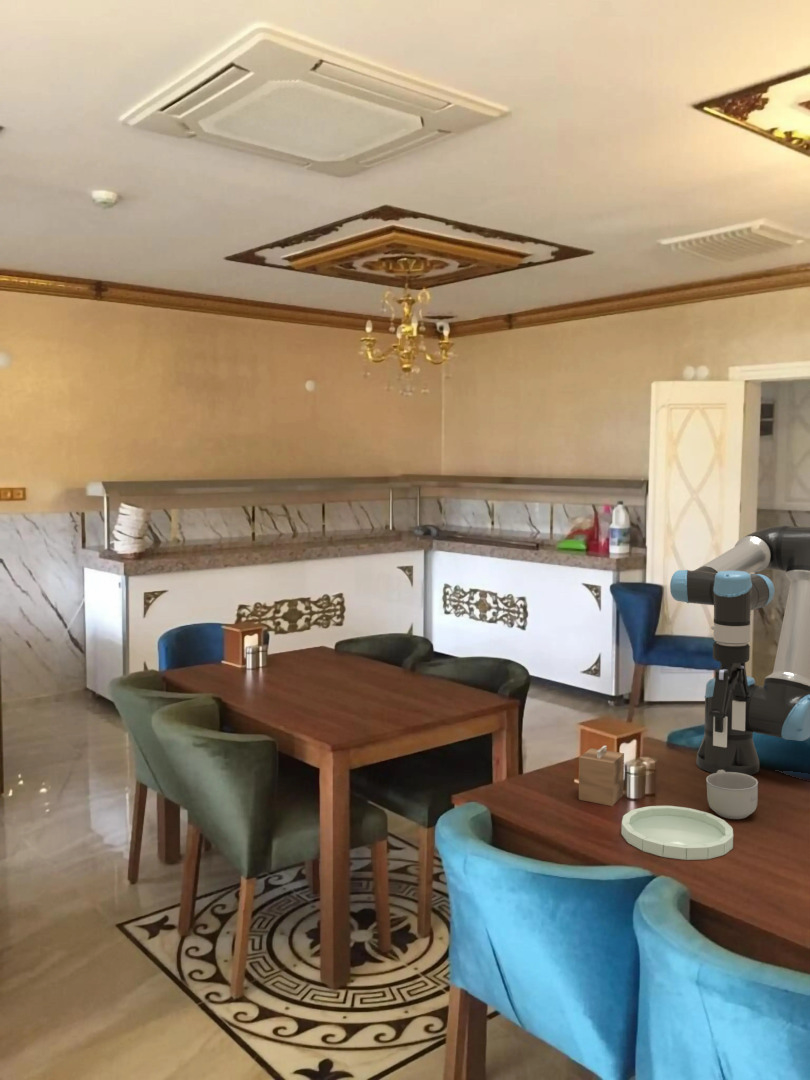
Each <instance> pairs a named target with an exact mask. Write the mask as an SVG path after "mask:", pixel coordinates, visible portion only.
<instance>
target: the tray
mask: <svg viewBox="0 0 810 1080" xmlns="http://www.w3.org/2000/svg"><path fill="white" fill-rule="evenodd" d="M620 832H621V835H622V837H623V838H624V840H625V841H626V842H627V843H628V844H629V845H631V846H633V847H635V848H636V849H638V850H640V851H642V852H644V853H648V854H650V855H655V856H659V857H662V858H666V859H667V858H669V859H675V860H682V861H690V860H691V861H694V860H695V861H697V860H711V859H713V858H717V857H721V856H724V855H727V854H728V853H729V852H730V851H731V850H732V849H734V829H733V827H732V826H731V825H730V824H729V823H728V822H727V821H726V820H725V819H722V818H720V817H718V816H716V815H714V814H712V813H711V812H710V813H709V812H706V811H702V810H699V809H695V808H690V807H684V806H674V805H650V806H643V807H639V808H634V809H631V810H630V811H629V812H626V813H625V814H624V815H622V820H621V831H620Z"/></svg>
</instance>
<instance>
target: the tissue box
mask: <svg viewBox="0 0 810 1080" xmlns="http://www.w3.org/2000/svg"><path fill="white" fill-rule="evenodd" d="M607 749H608V748H607V745H602V747H600V748H595V747H594V748H593V747H590V748H589V749H588V750H587V751H585V752H584V753H582V754H581V755H580V756H579V757H578V800H580V801H584V802H590V803H594V804H600V805H604V806H611V807H614V805H615V804H616V803H617V802H619V800H620V799H621V798H622V797H623V796H624V784H625V783H624V777H625V776H624V775H625V774H624V773H625V753H624V752H617V751H613V750H607Z"/></svg>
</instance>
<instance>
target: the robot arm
mask: <svg viewBox="0 0 810 1080" xmlns="http://www.w3.org/2000/svg"><path fill="white" fill-rule="evenodd" d="M763 570H776V571H783V572H785V577H786V578H787V579H788V580H789V582H790V583H789V588H788V594H787V599H786V604H785V608H784V614H783V615H784V616H783V619H782V623H781V624H782V625H781V628H780V629H781V630H780V634H779V638H778V645H777V651H776V655H775V661H774V664H773V670H772V673H771V674H769V675H767V676H766V677H765V678H764V683H763V685H758V684H757V685H756V680H755V678H754V677H752V676H748V675H747V670H746V663H748V662H749V661H750V655H751V654H750V651H751V646H750V644H749V643H750V642H751V611H753V610H757V609H762V608H764V607H765V606H767V605H768V604H770V603H771V602H772V600H773V599H774V596H775V592H776V591H775V590H776V589H775V586H774V583H773V581H772V579H770V578H769V577H768V576H766V575H764V574H761V573H759V572H761V571H763ZM669 591H670V595H671V597H672V598H673V600H675V601H677V602H683V603H687V604H696V605H698V604H699V605H704V606H706V605H707V606H708V605H709V606H713V625H711V628H710V629H711V630H713V640H714V641H715V642H714V643H713V644H712V658H713V660H714V661H716V662H719V663H720V664H721V666H720V668H719V669H717V668H716V670H715V677H713V678H711V679H709V680H708V681H707V682H706V686H705V695H704V733H703V734H704V735H703V737H702V740H701V743H700V746H699V747H698V748H699V749H698V751H697V753H696V766H697V767H698V768H699V769H700V770H703V771H705V772H708V773H710V774H714V773H717V771H718V770H724V771H725V772H736V773H743V774H747V775H750V776H752V775H756V774H758V773H759V771H760V758H759V756H758V753H757V748H756V746H755V743H754V739H753V737H754V736H753V735H754V733H756V734H761V735H766V736H771V737H776V738H781V739H784V740H786V741H788V740H791V741H796V742H797V741H798V742H802V741H806V740H808V739H810V526H795V525H794V526H791V525H774V526H768V527H766V528H762V529H759V530H756V531H754V532H751V533H749V534H747V535H745V536H743V537H741V538H740V539H739V540H737V541H736V543H735V544H734V546H733V547H732V548H730V549H728V550H727V551H725V552H723V553H722V554H720V555H718V556H717V557H714V558H713V559H712V560H710V561H708V562H707V563H705V564H703V565H702V566H699V567H698V568H697V569H695V570H690V569H682V570H681V569H678V570H676V571H675V572H674V573H673V574H672V576H671V578H670V583H669Z"/></svg>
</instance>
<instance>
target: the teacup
mask: <svg viewBox="0 0 810 1080" xmlns="http://www.w3.org/2000/svg"><path fill="white" fill-rule="evenodd" d="M705 782H706V795H707V796H706V798H707V803H708V806H709V807H710V809H711V810H712V811H714V812H715V813H716V814H717V815H718V816H719V817H722V818H725V819H730V820H741V819H746V818H747V817H749V816H750V815H752V814H753V813H754V812H755V811H756V809H757V807H758V798H759V797H758V796H759V794H758V793H759V791H758V790H759V789H758V788H759V787H758V785H759V781H758V779H757V778H756V777H754V776H752V775H747V774H743V773H736V772H725V771H724V770H718V771H717V773H710V774H709V775H708V776H706V778H705Z"/></svg>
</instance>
